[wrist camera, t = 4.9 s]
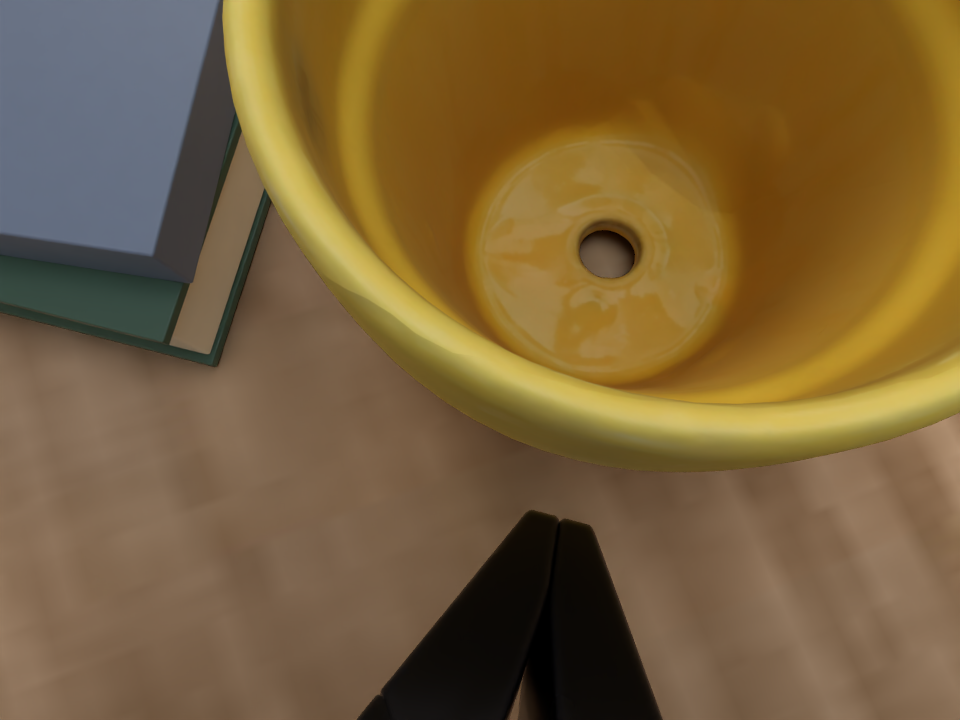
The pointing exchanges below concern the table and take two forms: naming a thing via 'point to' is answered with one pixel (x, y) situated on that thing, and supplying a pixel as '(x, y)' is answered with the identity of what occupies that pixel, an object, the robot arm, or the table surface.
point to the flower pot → (629, 210)
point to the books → (124, 173)
